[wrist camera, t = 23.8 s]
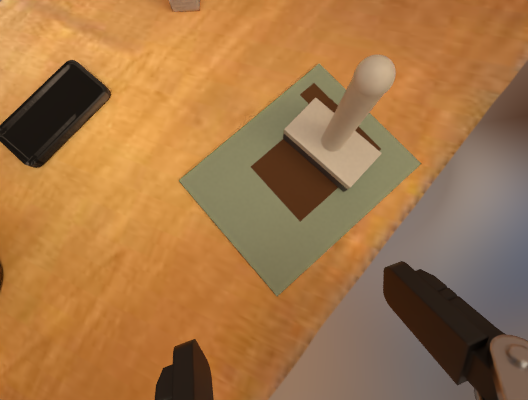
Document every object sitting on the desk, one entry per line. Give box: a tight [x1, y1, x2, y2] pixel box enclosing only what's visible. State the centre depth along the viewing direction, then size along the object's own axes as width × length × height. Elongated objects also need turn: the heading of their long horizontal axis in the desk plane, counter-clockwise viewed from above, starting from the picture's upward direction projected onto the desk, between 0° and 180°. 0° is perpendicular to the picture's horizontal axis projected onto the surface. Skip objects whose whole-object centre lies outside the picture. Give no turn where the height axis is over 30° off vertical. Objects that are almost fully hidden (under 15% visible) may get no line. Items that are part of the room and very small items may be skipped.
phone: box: [0, 60, 110, 168], centre depth 37 cm, size 8×1×15 cm
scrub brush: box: [283, 55, 396, 192], centre depth 28 cm, size 11×6×18 cm, turn 46°
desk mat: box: [179, 64, 421, 296], centre depth 36 cm, size 20×26×1 cm
